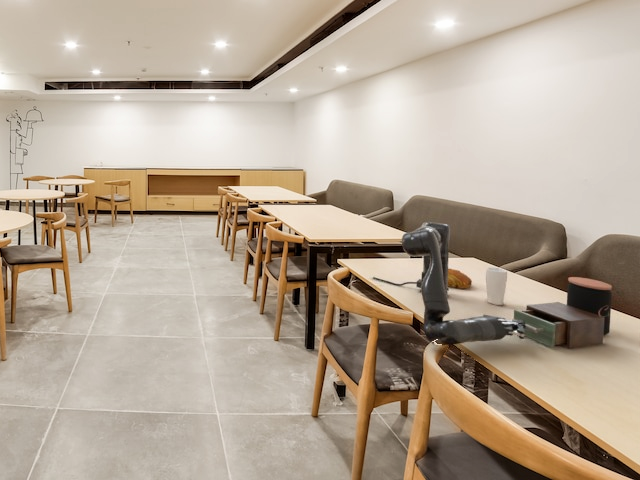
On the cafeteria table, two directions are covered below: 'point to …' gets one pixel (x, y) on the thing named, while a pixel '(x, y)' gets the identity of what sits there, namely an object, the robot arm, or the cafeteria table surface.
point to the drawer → (542, 327)
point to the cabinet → (575, 324)
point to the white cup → (495, 285)
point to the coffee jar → (591, 297)
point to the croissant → (458, 279)
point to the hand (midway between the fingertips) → (522, 324)
